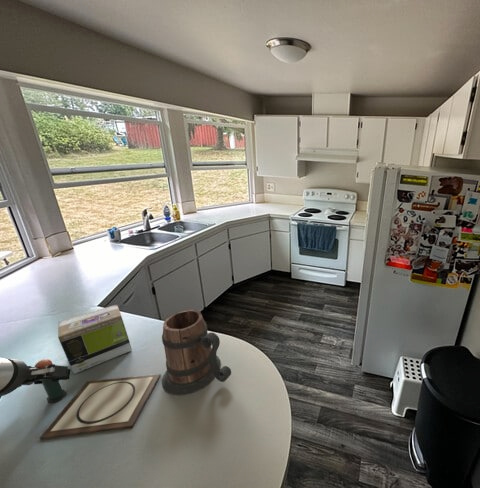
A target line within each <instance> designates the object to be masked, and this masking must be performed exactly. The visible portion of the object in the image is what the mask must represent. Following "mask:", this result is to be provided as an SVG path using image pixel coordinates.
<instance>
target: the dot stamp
mask: <svg viewBox="0 0 480 488" xmlns="http://www.w3.org/2000/svg"><path fill="white" fill-rule="evenodd" d="M50 364H53V361H52V360H51V359H48V358H45V359H41V360H39V361H38V362H36V363H35V365H34V367H40V368H41V369H45V366H48V365H50ZM53 381H54V380H53ZM53 381H52V379H51V380H41V382H42V384H41V385H42V387H43V389H44V391H45V393H46V395H47V397H46V401H47V403H48V404H55V403H57V402H60V401H62V400H63V399H64V398H65V397H66V396H67V391H66V390H65V389H63V387H62V386H61V385H62V384H61V383H60V380H59V381H58V382H53Z"/></svg>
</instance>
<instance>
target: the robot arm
mask: <svg viewBox="0 0 480 488" xmlns="http://www.w3.org/2000/svg"><path fill="white" fill-rule="evenodd" d="M71 371H72V369H71V368H69V366H67V365H57V364H56V363H52V364H50V365H48V366H45V369H41V368H40V367H35V366H32V365H27V364H26V363H25V361H23V360H21V359H17V358H3V357H0V397H4V396H6V395H9V394H11V393H12V392H14V391H15V390H17V389H18V388H20V387H22V386H32V385H43V384H42V382H41V380H51V379H52V381H53V380H54V381H53V382H58V381H59V382H60V381H68V380H70V378H71Z"/></svg>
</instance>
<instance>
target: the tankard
mask: <svg viewBox="0 0 480 488" xmlns="http://www.w3.org/2000/svg"><path fill="white" fill-rule="evenodd" d="M207 324H208V323H207V322H206V321H205V319H204V317H203V314H202V312H201V311H200V310H197V309H187V310H183V311H178V312H176V313H173V314H172V315H170V316H169V317H167V318H165V320H164V322H163V324H162V325H163V326H162V334H161V343H162V344H163V348H164V353H165V367H166V371H165V372H164V373H163V376H162V379H161V386H162V389H163V390H164V391H165V392H166V393H168V394H170V395H174V396H186V395H190V394H193V393H195V392H199V391H200V390H202V389H204V388H205V387H207V386H209V385H210V384H211V383H212V382H213V381H214V380H215V379H216V380H217V381H219V382H222V383H224V382H226V381H227V380H228V379H229V378H230V376H231V375H232V369H231V368H230V367H229V365H228V366H227V365H223V366H222V362H221V359H220V358H219V356H218V355H217V351H218V350H219V347H220V344H221V341H220V338H219V335H217V333H215V332H209V331H208V325H207Z"/></svg>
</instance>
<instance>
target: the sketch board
mask: <svg viewBox="0 0 480 488" xmlns="http://www.w3.org/2000/svg"><path fill="white" fill-rule="evenodd" d="M160 378H161V373H156V374H147V375H137V376H128V377H117V378H108V379H107V378H106V379H98V380H89V381H86V382H85V383H84V385H83V386H82V387H81V388H80V389H79V390H78V392H76V394H75V395H74V396H73V398H72V399H71V400H70V401H69V402H68V403H67V404H66V405H65V407H63V409H62V410H61V412H60V413H59V414H58V415H57V416H56V417H55V418H54V420H53V421H52V422H51V424H50V425H49V426H48V427H47V428H46V429H45V430H44V431H43V433H42V434H41V435H40V436H39V440H41V441H44V440H50V439H58V438H65V437H71V436H80V435H88V434H95V433H103V432H110V431H116V430H117V431H119V430H125V429H132V428H134V426H135V425H136V423H137V420H138V419H139V417H140V415H141V413H142V412H143V409H144V408H145V406H146V404H147V403H148V400H149V399H150V397H151V394H152V393H153V391H154V389H155V387H156V385H157V383H158V382H159V380H160Z"/></svg>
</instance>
